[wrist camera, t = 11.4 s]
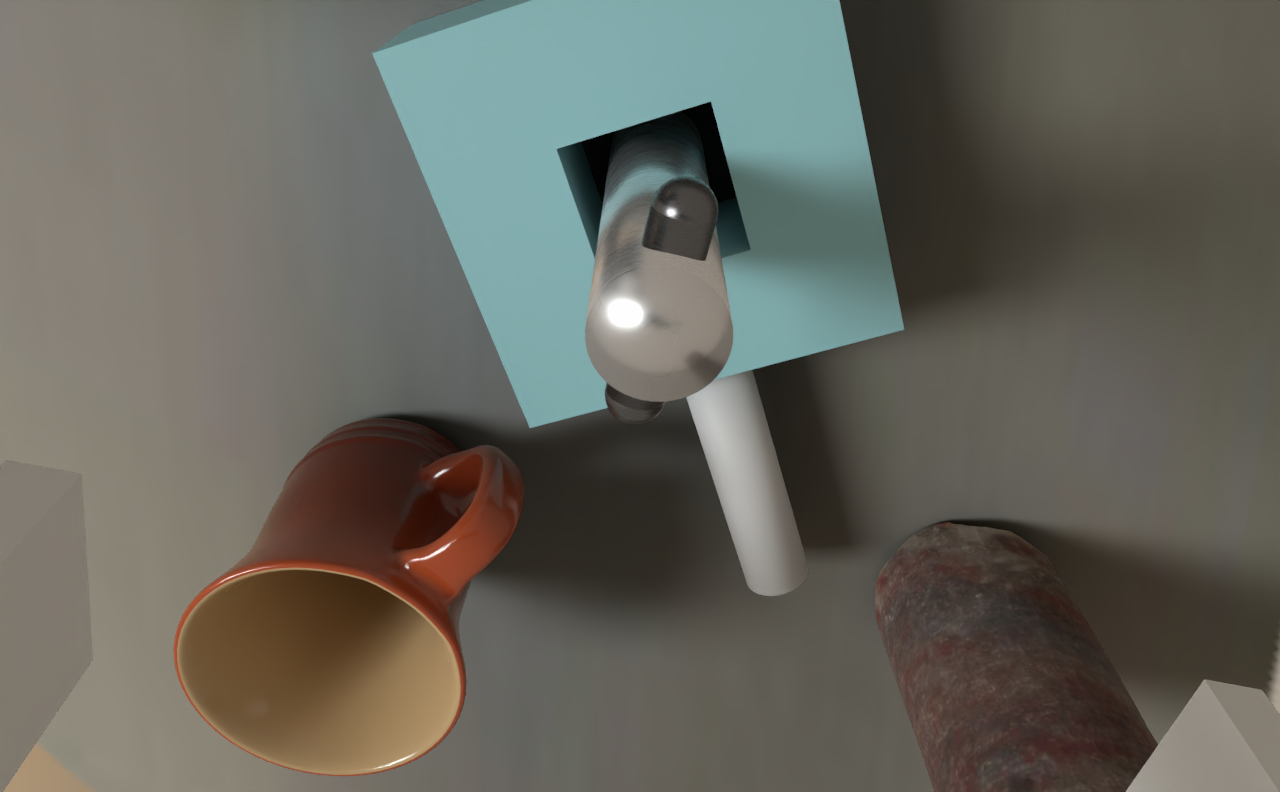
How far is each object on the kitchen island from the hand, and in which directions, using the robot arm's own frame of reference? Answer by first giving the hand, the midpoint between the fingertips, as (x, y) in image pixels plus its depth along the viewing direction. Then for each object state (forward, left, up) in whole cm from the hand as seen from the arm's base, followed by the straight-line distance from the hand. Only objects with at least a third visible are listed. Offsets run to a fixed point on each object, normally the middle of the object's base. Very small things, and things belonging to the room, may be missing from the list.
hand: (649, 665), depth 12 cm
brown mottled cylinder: (+21, +7, -24) cm, 32 cm away
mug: (+9, -12, -24) cm, 28 cm away
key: (0, 0, -23) cm, 23 cm away
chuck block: (+5, 0, -23) cm, 24 cm away
